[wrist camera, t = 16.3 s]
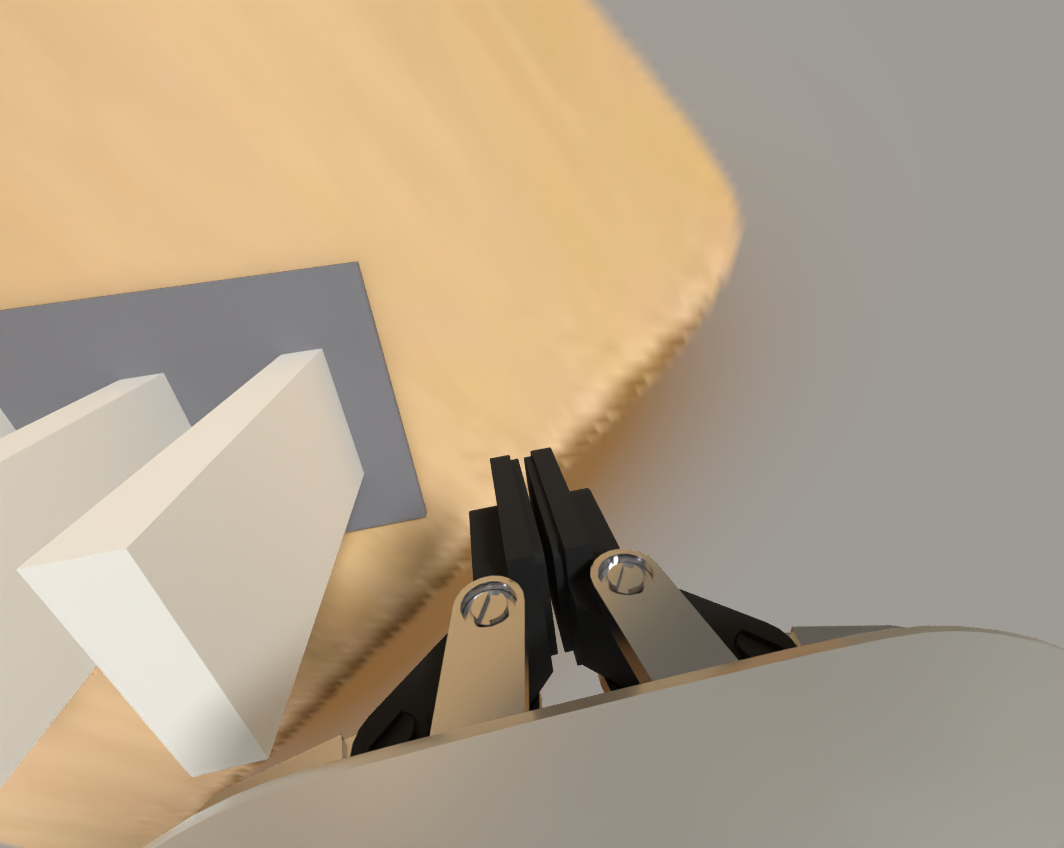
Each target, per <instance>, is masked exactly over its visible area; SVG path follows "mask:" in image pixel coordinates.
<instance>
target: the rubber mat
mask: <svg viewBox="0 0 1064 848" xmlns="http://www.w3.org/2000/svg"><path fill="white" fill-rule="evenodd" d="M321 348H322V350H323V353H324V356H325V359H326V362H327V364H328V367H329V370H330V373H331V376H332V379H333V382H334V385H335V388H336V391H337V394H338V397H339V400H340V403H341V406H342V409H343V412H344V415H345V418H346V421H347V424H348V427H349V430H350V433H351V436H352V439H353V442H354V445H355V448H356V451H357V454H358V457H359V460H360V463H361V466H362V469H363V472H364V476H363V479H362V482H361V485H360V488H359V491H358V494H357V497H356V500H355V503H354V506H353V509H352V512H351V515H350V518H349V521H348V524H347V527H346V530H345V532H349V531H355V530H360V529H365V528H370V527H375V526H380V525H385V524H390V523H395V522H401V521H406V520H411V519H416V518H421V517H426V514H427V511H426V507H425V504H424V500H423V496H422V493H421V489H420V486H419V482H418V478H417V475H416V471H415V467H414V464H413V460H412V456H411V453H410V449H409V445H408V442H407V438H406V434H405V431H404V427H403V424H402V420H401V416H400V413H399V409H398V405H397V402H396V398H395V394H394V391H393V387H392V383H391V380H390V376H389V372H388V369H387V365H386V362H385V358H384V354H383V351H382V347H381V343H380V340H379V336H378V332H377V329H376V325H375V321H374V318H373V314H372V311H371V307H370V303H369V300H368V296H367V292H366V289H365V285H364V281H363V278H362V274H361V270H360V267H359V263H358V261H357V262H350V263H343V264H335V265H328V266H321V267H313V268H306V269H299V270H291V271H284V272H277V273H269V274H262V275H255V276H247V277H240V278H233V279H226V280H218V281H211V282H204V283H196V284H189V285H182V286H174V287H167V288H160V289H152V290H145V291H138V292H130V293H123V294H116V295H109V296H101V297H94V298H87V299H79V300H72V301H65V302H57V303H50V304H43V305H35V306H28V307H21V308H13V309H6V310H0V409H1V410H2V411H3V413H4V414H5V416H6V417H7V418H8V420H9V421H10V423H11V424H12V425H13V427H14V428H15V430H18V429H20V428H22V427H24V426H26V425H29V424H31V423H33V422H35V421H37V420H39V419H41V418H43V417H45V416H47V415H49V414H51V413H53V412H55V411H57V410H59V409H61V408H63V407H65V406H67V405H69V404H71V403H73V402H75V401H77V400H79V399H81V398H83V397H85V396H88V395H90V394H92V393H94V392H96V391H98V390H100V389H102V388H104V387H106V386H108V385H110V384H112V383H114V382H116V381H118V380H121V379H128V378H134V377H141V376H147V375H154V374H160V373H164V375H165V377H166V378H167V380H168V382H169V384H170V386H171V388H172V390H173V392H174V394H175V396H176V398H177V400H178V402H179V404H180V406H181V408H182V410H183V412H184V414H185V416H186V418H187V419H188V421H189V423H190V425H191V427H192V426H194V425H195V424H196V423H197V422H199V421H200V420H201V419H202V418H204V417H205V416H206V415H207V414H208V413H210V412H211V411H212V410H213V409H215V408H216V407H217V406H218V405H220V404H221V403H222V402H223V401H224V400H226V399H227V398H228V397H229V396H231V395H232V394H233V393H234V392H236V391H237V390H238V389H239V388H241V387H242V386H243V385H244V384H245V383H247V382H248V381H249V380H250V379H252V378H253V377H254V376H255V375H257V374H258V373H259V372H260V371H261V370H263V369H264V368H265V367H266V366H268V365H269V364H270V363H271V362H273V361H274V360H275V359H276V358H277V357H279V356H280V355H282V354H289V353H295V352H302V351H308V350H315V349H321Z"/></svg>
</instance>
